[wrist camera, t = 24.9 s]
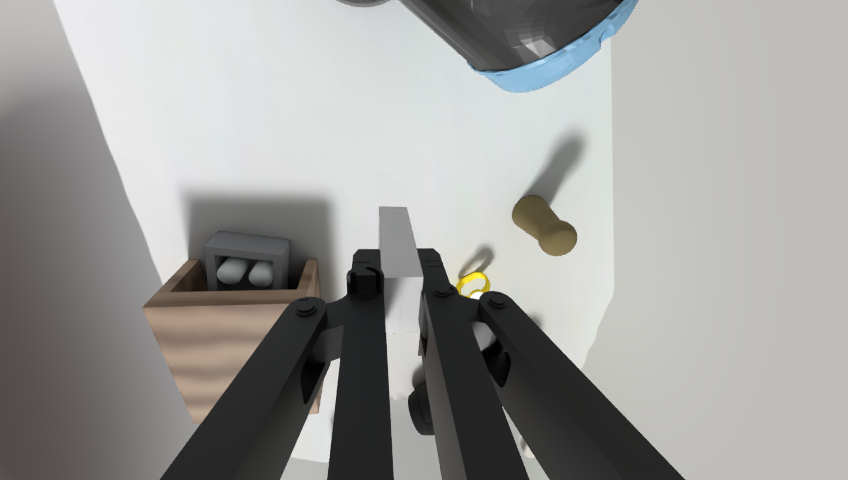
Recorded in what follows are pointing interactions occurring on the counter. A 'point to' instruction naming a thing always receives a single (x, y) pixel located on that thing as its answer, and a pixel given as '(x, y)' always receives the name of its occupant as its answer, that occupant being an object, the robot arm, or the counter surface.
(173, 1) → the counter surface
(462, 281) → the watch
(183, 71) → the counter surface
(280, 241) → the tray
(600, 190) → the counter surface
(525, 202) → the cork
